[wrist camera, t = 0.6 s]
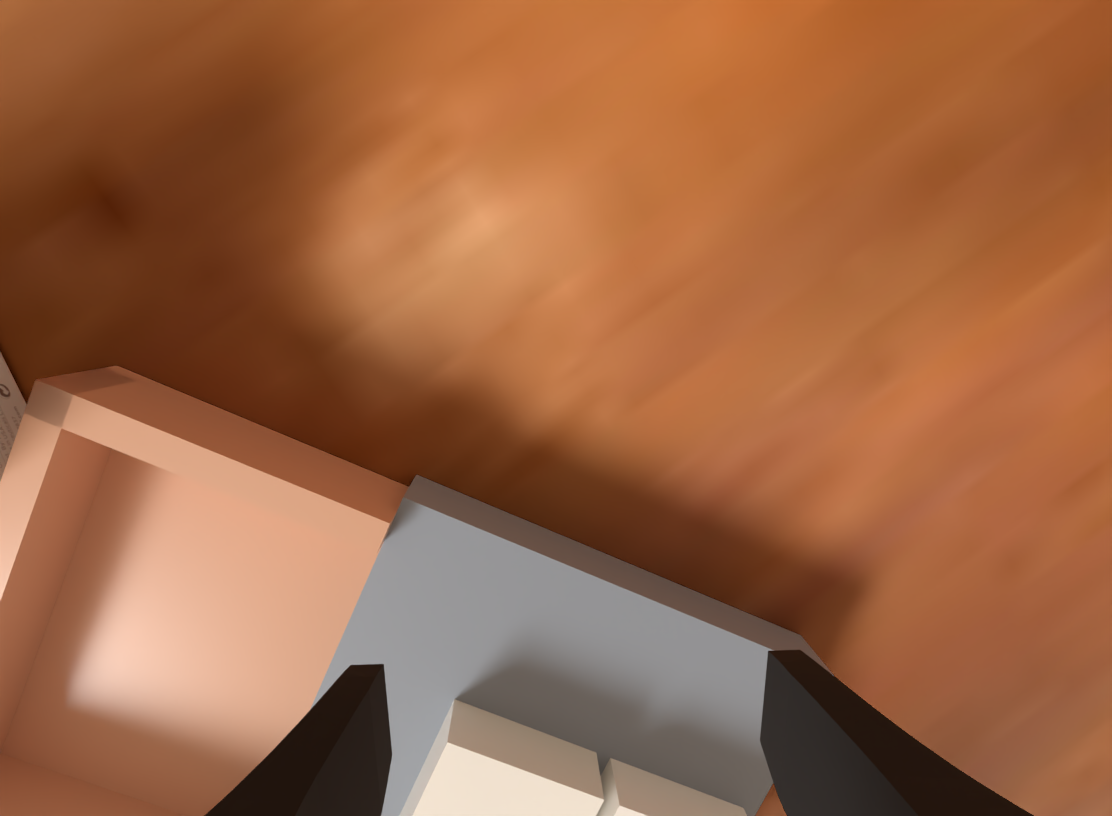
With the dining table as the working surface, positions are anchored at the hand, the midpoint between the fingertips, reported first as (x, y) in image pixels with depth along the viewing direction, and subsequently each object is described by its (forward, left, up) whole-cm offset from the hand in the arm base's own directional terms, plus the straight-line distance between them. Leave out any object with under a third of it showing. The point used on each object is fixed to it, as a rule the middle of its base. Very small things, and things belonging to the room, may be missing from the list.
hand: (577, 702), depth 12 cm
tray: (-8, +10, -10) cm, 16 cm away
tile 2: (-8, -2, -8) cm, 12 cm away
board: (-8, -3, -10) cm, 14 cm away
